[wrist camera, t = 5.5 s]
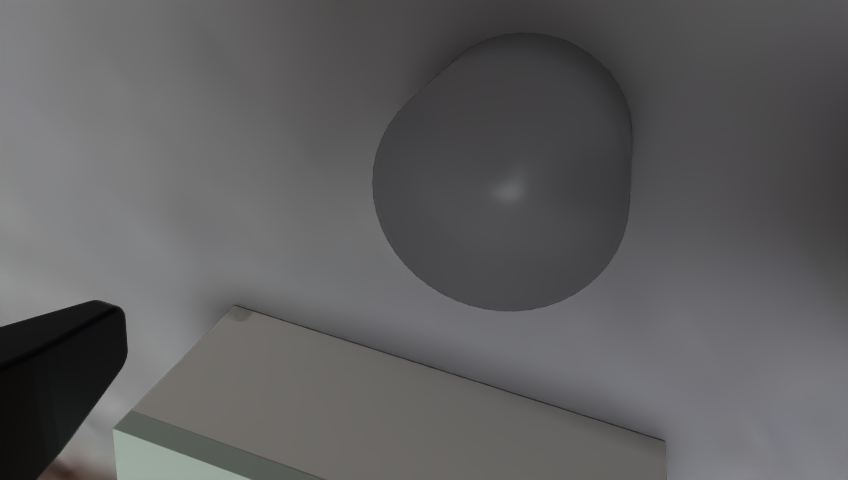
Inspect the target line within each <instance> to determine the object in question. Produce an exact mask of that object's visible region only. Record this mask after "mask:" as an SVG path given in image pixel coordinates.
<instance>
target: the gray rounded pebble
mask: <svg viewBox="0 0 848 480" xmlns="http://www.w3.org/2000/svg"><path fill="white" fill-rule="evenodd" d="M631 160H632V124H631V118H630V112H629V109H628V106H627V103H626V100H625V98H624V96H623V94H622V91H621V89H620V87H619V86H618V84H617V83H616V81H615V80H614V78H613V77H612V75H611V74H610V73H609V72H608V71H607V69H606V68H605V67H604V66H603V65H602V64H601V63H600V62H599V61H598V60H596V59H595V58H594V57H593V56H592V55H590V54H589V53H588V52H586V51H584V50H583V49H581V48H580V47H578V46H576V45H574V44H572V43H569V42H567V41H565V40H562V39H559V38H556V37H552V36H549V35H542V34H536V33H516V34H508V35H503V36H499V37H495V38H491V39H489V40H486V41H484V42H481V43H479V44H477V45H475V46H474V47H472V48H470V49H468V50H467V51H465V52H464V53H463V54H462V55H460V56H459V57H458V58H456V59H455V60H454V61H453V62H452V63H451V64H450V65H448V66H447V67H446V68H445V69H444V70H443V71H442V72H441V73H440V74H438V75H437V76H436V77H435V78H434V79H433V80H432V81H431V82H430V83H428V84H427V85H426V86H425V87H424V88H423V89H422V90H421V91H420V92H418V93H417V94H416V95H415V96H414V97H413V98H412V99H411V100H410V101H409V102H408V103H407V104H406V105H405V106H404V107H403V108H402V109H401V110H400V111H399V112H398V113H397V114H396V116H395V117H394V118H393V120H392V121H391V123H390V124H389V125H388V127H387V129H386V131H385V133H384V135H383V137H382V139H381V141H380V144H379V147H378V150H377V153H376V157H375V162H374V167H373V180H372V186H373V199H374V204H375V209H376V213H377V216H378V219H379V222H380V225H381V228H382V230H383V232H384V234H385V236H386V238H387V240H388V242H389V243H390V245H391V247H392V248H393V250H394V251H395V253H396V254H397V255H398V257H399V258H400V259H401V260H402V262H403V263H404V264H405V265H406V266H407V267H408V268H409V269H410V270H411V271H412V272H413V273H414V274H415V275H416V276H417V277H418V278H420V279H421V280H422V281H423V282H425V283H426V284H427V285H429V286H430V287H432V288H433V289H435V290H437V291H438V292H440V293H441V294H443V295H445V296H448V297H450V298H452V299H454V300H456V301H459V302H462V303H464V304H467V305H470V306H474V307H478V308H482V309H488V310H496V311H523V310H532V309H536V308H541V307H545V306H549V305H551V304H554V303H557V302H560V301H562V300H564V299H566V298H568V297H570V296H572V295H574V294H576V293H577V292H579V291H580V290H582V289H583V288H585V287H586V286H587V285H589V284H590V283H591V282H592V281H593V280H594V279H595V278H596V277H597V276H599V274H600V273H601V272H602V271H603V270H604V269H605V267H606V266H607V265H608V264H609V262H610V261H611V259H612V258H613V256H614V254H615V253H616V251H617V249H618V247H619V245H620V242H621V240H622V238H623V236H624V232H625V228H626V224H627V221H628V213H629V204H630V182H631Z"/></svg>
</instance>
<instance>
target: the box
mask: <svg viewBox="0 0 848 480" xmlns="http://www.w3.org/2000/svg"><path fill="white" fill-rule="evenodd" d="M131 411H134V412H136V413H139V414H142V415H145V416H147V417H150V418H153V419H156V420H159V421H161V422H164V423H167V424H170V425H172V426H175V427H178V428H181V429H184V430H186V431H189V432H192V433H195V434H197V435H200V436H203V437H206V438H208V439H211V440H214V441H217V442H220V443H222V444H225V445H228V446H231V447H233V448H236V449H239V450H242V451H244V452H247V453H250V454H253V455H256V456H258V457H261V458H264V459H267V460H269V461H272V462H275V463H278V464H281V465H283V466H286V467H289V468H292V469H294V470H297V471H300V472H303V473H305V474H308V475H311V476H314V477H317V478H319V479H322V480H667V471H666V446H665V442H664V441H661V440H658V439H655V438H652V437H648V436H645V435H642V434H639V433H636V432H633V431H629V430H626V429H623V428H620V427H617V426H614V425H611V424H607V423H604V422H601V421H598V420H595V419H592V418H588V417H585V416H582V415H579V414H576V413H573V412H569V411H566V410H563V409H560V408H557V407H554V406H550V405H547V404H544V403H541V402H538V401H535V400H532V399H528V398H525V397H522V396H519V395H516V394H513V393H509V392H506V391H503V390H500V389H497V388H494V387H490V386H487V385H484V384H481V383H478V382H475V381H471V380H468V379H465V378H462V377H459V376H456V375H453V374H449V373H446V372H443V371H440V370H437V369H434V368H430V367H427V366H424V365H421V364H418V363H415V362H411V361H408V360H405V359H402V358H399V357H396V356H392V355H389V354H386V353H383V352H380V351H377V350H374V349H370V348H367V347H364V346H361V345H358V344H355V343H351V342H348V341H345V340H342V339H339V338H336V337H332V336H329V335H326V334H323V333H320V332H317V331H313V330H310V329H307V328H304V327H301V326H298V325H295V324H291V323H288V322H285V321H282V320H279V319H276V318H272V317H269V316H266V315H263V314H260V313H257V312H253V311H250V310H247V309H244V308H241V307H238V306H233V307H232V308H231V309H230V310H229V311H228V312H227V313H226V314H225V315H224V316H223V317H222V318H221V319H220V320H219V322H218V323H217V324H216V325H215V326H214V327H213V328H212V329H211V330H210V331H209V332H208V333H207V334H206V335H205V336H204V337H203V338H202V339H201V340H200V341H199V342H198V343H197V344H196V345H195V346H194V347H193V348H192V349H191V350H190V351H189V352H188V353H187V354H186V355H185V356H184V357H183V358H182V359H181V360H180V361H179V362H178V363H177V364H176V365H175V366H174V367H173V368H172V369H171V370H170V371H169V372H168V373H167V374H166V375H165V376H164V377H163V378H162V379H161V380H160V381H159V382H158V383H157V384H156V385H155V386H154V387H153V388H152V389H151V390H150V391H149V392H148V393H147V394H146V395H145V396H144V397H143V398H142V400H141V401H140V402H139V403H138V404H137V405H136V406H135V407H134V408H133V409H132V410H131Z"/></svg>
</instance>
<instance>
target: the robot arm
mask: <svg viewBox="0 0 848 480" xmlns="http://www.w3.org/2000/svg"><path fill="white" fill-rule="evenodd" d="M127 353H128V347H127V333H126V319H125V313H124V311H123V310H122V309H121V308H120V307H118V306H116V305H112V304H109V303H106V302H103V301H99V300H93V301H89V302H85V303H82V304H78V305H75V306H71V307H68V308H64V309H61V310H58V311H54V312H51V313H47V314H44V315H40V316H37V317H33V318H30V319H27V320H23V321H20V322H16V323H13V324H9V325H6V326H2V327H0V480H37V479H38V478H39V477H40V476H41V475H42V473H43V472H44V471H45V470H46V469H47V468H48V467H49V466H50V464H51V463H52V462H53V461H54V460H55V458H56V457H57V456H58V455H59V454H60V452H61V451H62V450H63V449H64V447H65V446H66V445H67V443H68V442H69V441H70V440H71V438H72V437H73V435H74V434H75V433H76V431H77V430H78V428H79V427H80V426H81V424H82V423H83V422H84V420H85V419H86V417H87V416H88V415H89V413H90V412H91V410H92V409H93V408H94V406H95V405H96V404H97V402H98V401H99V399H100V398H101V397H102V395H103V394H104V392H105V391H106V390H107V388H108V387H109V386H110V384H111V383H112V381H113V380H114V379H115V377H116V376H117V374H118V373H119V372H120V370H121V369H122V367H123V365H124V363H125V361H126V358H127Z"/></svg>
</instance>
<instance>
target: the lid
mask: <svg viewBox="0 0 848 480" xmlns="http://www.w3.org/2000/svg"><path fill="white" fill-rule="evenodd" d="M113 437H114V448H115V458H116V469H117V479H118V480H322V479H319V478H317V477H314V476H311V475H308V474H305V473H303V472H300V471H297V470H294V469H292V468H289V467H286V466H283V465H281V464H278V463H275V462H272V461H269V460H267V459H264V458H261V457H258V456H256V455H253V454H250V453H247V452H244V451H242V450H239V449H236V448H233V447H231V446H228V445H225V444H222V443H220V442H217V441H214V440H211V439H208V438H206V437H203V436H200V435H197V434H195V433H192V432H189V431H186V430H184V429H181V428H178V427H175V426H172V425H170V424H167V423H164V422H161V421H159V420H156V419H153V418H150V417H147V416H145V415H142V414H139V413H136V412H134V411H130V412H129V413H128V414H127V415H126V416H125V417H124V418H123V419H122V420H121V421H120V422H119V423H118V424H117V425H116V426H115V427H114V428H113Z"/></svg>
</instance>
